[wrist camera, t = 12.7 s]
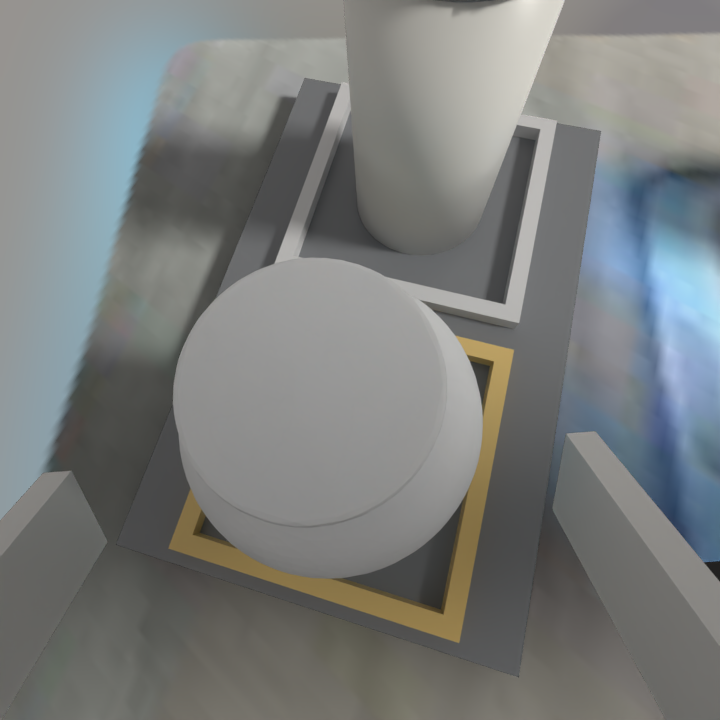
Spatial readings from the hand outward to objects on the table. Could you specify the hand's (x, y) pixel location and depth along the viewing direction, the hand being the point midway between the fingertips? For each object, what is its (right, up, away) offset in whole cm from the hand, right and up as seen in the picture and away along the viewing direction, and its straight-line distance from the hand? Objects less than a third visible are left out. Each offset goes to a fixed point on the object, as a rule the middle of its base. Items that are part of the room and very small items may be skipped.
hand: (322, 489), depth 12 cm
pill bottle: (+1, -1, +8) cm, 9 cm away
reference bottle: (+4, +12, +12) cm, 18 cm away
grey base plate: (+3, +6, +12) cm, 13 cm away
